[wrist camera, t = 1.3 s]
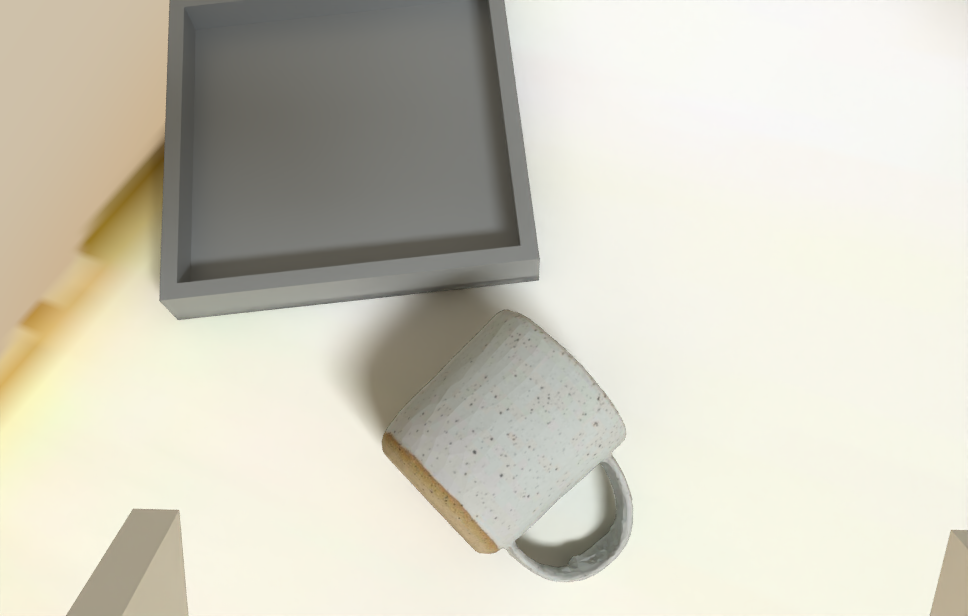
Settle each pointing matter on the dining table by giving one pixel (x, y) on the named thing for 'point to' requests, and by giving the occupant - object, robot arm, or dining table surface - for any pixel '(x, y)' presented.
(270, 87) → the tray
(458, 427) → the ceramic mug
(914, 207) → the dining table surface
